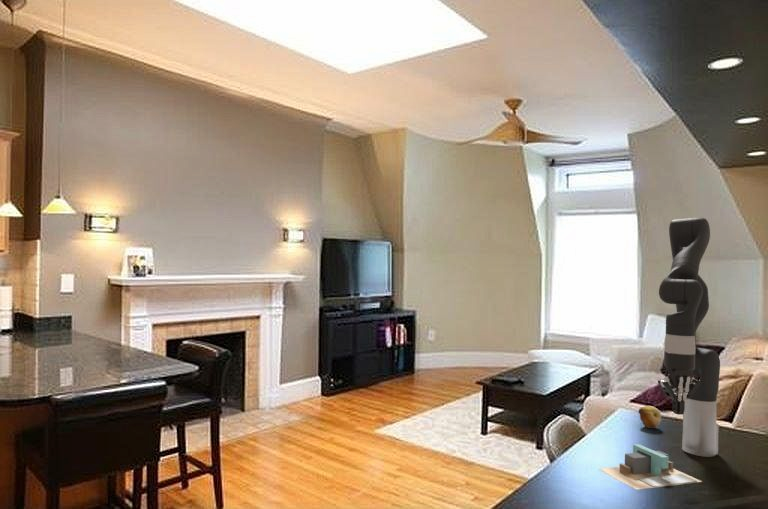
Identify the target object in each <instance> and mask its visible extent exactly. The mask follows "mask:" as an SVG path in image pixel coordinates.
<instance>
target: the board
mask: <svg viewBox="0 0 768 509" xmlns="http://www.w3.org/2000/svg"><path fill="white" fill-rule="evenodd" d="M598 470H599V471H601V472H603V473H605V475H608V476H610V477H612V478H614V479H616V480H618V481H620V482H621V483H623V484H625V485H627V486H628V487H630V488H632V489H635V490H636V491H638V490H644V489H645V490H646V489H647V490H648V489H653V488H654V489H655V488H661V487H670V486H678V485H685V484H687V485H688V484H693V483H702V482H703V481H702V480H700V479H697V478H695V477H693V476H691V475H689V474H687V473H685V472H682V471H680V470H677V469H676V468H674V462H673V461H670V460H669V465H668V471H662V472H661V475H656V476H655V475H653V474H651V473H644V474H636V475H634V474H632V473H631V467H629V466H627V465H625V463H623V462H622V463H619V466H615V467H614V466H613V467H605V468H598Z"/></svg>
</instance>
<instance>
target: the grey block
mask: <svg viewBox="0 0 768 509" xmlns="http://www.w3.org/2000/svg"><path fill="white" fill-rule="evenodd" d="M655 451H656V452H658V453H661V454H663V455H665V456H668V457H669V454H668V453H666V452H663V451H660V450H659V449H658V450H655ZM624 464H625V465H627V466H629V467H631V473H632V474H634V475H636V474H644V473H651V456H650V455H648V454H645V453H643V452H638V453H633V452H630V453H629V452H628V453H624ZM662 471H668V468H665V469H662V468H661V472H662Z"/></svg>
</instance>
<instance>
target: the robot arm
mask: <svg viewBox="0 0 768 509" xmlns="http://www.w3.org/2000/svg"><path fill="white" fill-rule="evenodd" d="M668 234H669V243H670V250H671V256H672V257H671V258H672V262H671V268H670V271H669V272H668V274H667V275H666V276H665V277H664V278H663V279H662V281H661V283H660V285H659V288H658V295H659V296H658V297H659V298H660V300H661V301H662V302H663V303H665V304H669V305H675V306H676V307H675V309H676V312H670V313H667V315H666V317H665V336H664V342H663V343H664V344H663V345H664V346H663V348H664V349H663V365H664V367H665V369H666V370H665V373H664V377H663V378H662V379H658V380H657V383H658V386H659V387H660V388H661V390H662V392H663V394H664V395H665V397H667V398H669V399H671V400H672V404H671V405H672V408H671V409H672V413H673V414H674V415H675V414H676V415H677V416H678V415H679V416H680V415H682V436H681V437H682V444H681V446H682V447H681V449H682V451H683V452H686V453H688V454H690V455H694V456H699V457H704V458H712V457H715V456H717V455H719V423H717V399H718V398H717V397H718V392H719V387H720V375H721V359H720V356H719V354H718V352H717V351H715V350H713V349H708V348H701V347H696V341H695V340H696V333H697V330H698V328H699V326H700V324H701V323H702V322H703V319H705V317H706V316H707V314H708V311H709V308H710V300H709V299H710V297H709V288H708V285H707V283H706V282H705V281H704V279H703V278H702V277H701V276H700V274H699V270H700V264H701V261H702V258H703V256H704V255H705V252H706V250H707V249H708V245H709V242H710V239H711V228H710V223H709V221H708V220H707V218H705V217H689V218H688V217H687V218H678V219H677V218H676V219H673V220H671V221H670V223H669V227H668ZM695 377H697V378H699V379H696V378H695Z"/></svg>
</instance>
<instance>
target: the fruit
mask: <svg viewBox="0 0 768 509" xmlns="http://www.w3.org/2000/svg"><path fill="white" fill-rule="evenodd" d="M659 410H660V409H658V408H656V406H652V405H645V406H642V407H640V408H639V409H638V411H637V412H638V413H639V418H640V420H641V422H642V424H643V426H644V427H645V428H646V429H647V428H648V429H653V428H656V427H658V426H659V425H660V423H661V421H662V414H661V412H660V411H659Z"/></svg>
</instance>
